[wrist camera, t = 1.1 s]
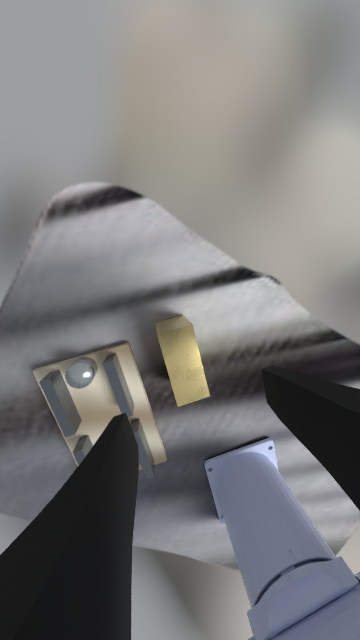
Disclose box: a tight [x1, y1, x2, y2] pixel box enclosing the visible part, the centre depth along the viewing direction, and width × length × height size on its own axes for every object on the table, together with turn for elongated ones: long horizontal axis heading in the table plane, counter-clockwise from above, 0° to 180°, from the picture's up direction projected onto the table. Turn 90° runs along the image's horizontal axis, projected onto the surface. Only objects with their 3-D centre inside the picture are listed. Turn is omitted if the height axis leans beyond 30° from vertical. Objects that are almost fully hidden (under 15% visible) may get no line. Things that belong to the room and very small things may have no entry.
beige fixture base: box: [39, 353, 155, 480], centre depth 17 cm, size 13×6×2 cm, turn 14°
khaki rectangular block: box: [155, 315, 210, 407], centre depth 16 cm, size 6×3×4 cm, turn 14°
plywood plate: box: [32, 342, 167, 471], centre depth 18 cm, size 13×8×1 cm, turn 14°
